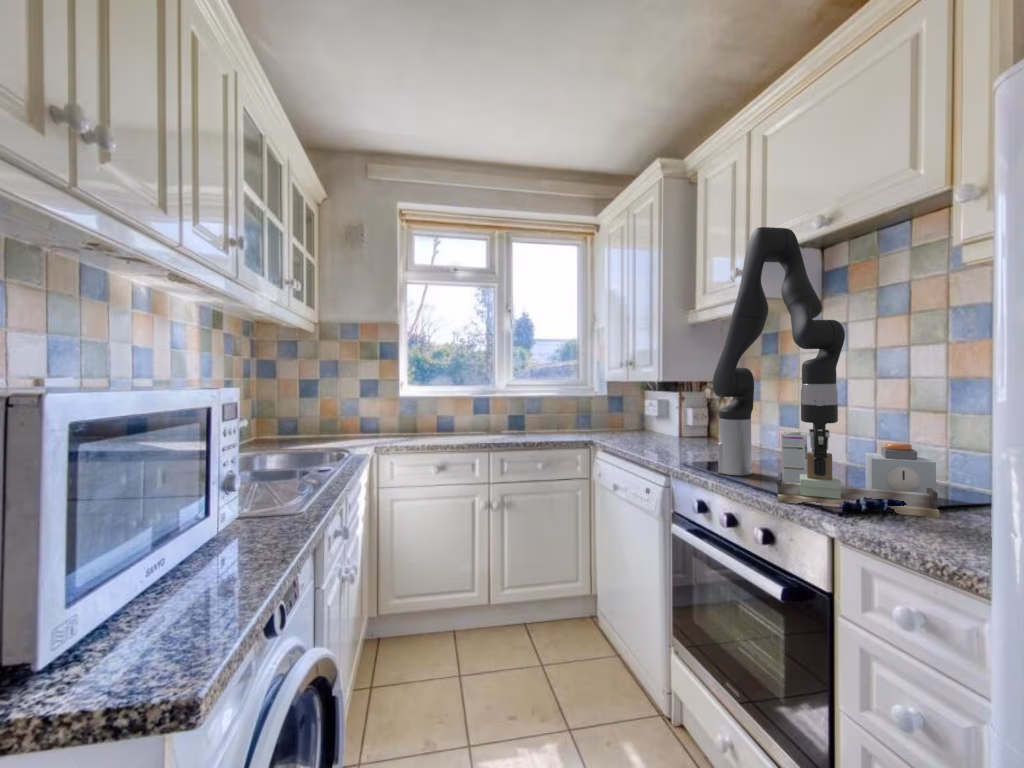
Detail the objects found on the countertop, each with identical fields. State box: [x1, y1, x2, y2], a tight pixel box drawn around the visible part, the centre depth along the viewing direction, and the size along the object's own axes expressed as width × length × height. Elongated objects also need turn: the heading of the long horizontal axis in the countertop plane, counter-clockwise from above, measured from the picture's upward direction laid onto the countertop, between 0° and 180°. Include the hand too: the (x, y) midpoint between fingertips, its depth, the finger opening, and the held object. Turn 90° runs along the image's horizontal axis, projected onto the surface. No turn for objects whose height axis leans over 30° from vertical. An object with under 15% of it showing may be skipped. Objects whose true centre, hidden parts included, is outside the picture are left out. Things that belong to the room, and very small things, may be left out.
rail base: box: [777, 475, 941, 519], centre depth 111 cm, size 30×8×5 cm, turn 60°
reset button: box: [885, 442, 913, 451], centre depth 117 cm, size 5×5×3 cm
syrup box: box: [780, 431, 808, 483], centre depth 132 cm, size 6×6×14 cm
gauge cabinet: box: [864, 446, 937, 493], centre depth 117 cm, size 12×11×12 cm
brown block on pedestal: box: [800, 451, 842, 499], centre depth 114 cm, size 8×7×10 cm
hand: (819, 473), depth 114 cm, fingers closed on brown block on pedestal, 2 cm apart
